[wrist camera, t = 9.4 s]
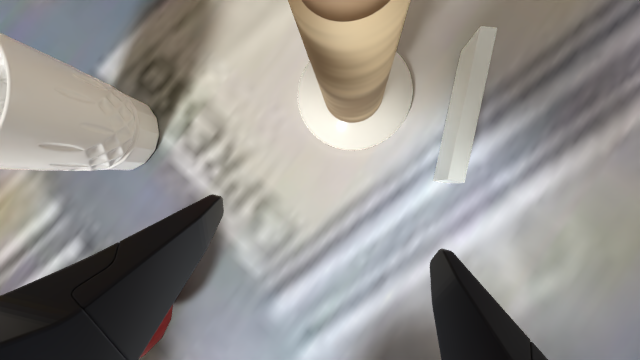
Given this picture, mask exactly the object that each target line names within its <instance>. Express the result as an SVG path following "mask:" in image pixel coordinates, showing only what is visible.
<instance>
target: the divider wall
mask: <svg viewBox="0 0 640 360" xmlns="http://www.w3.org/2000/svg"><path fill="white" fill-rule="evenodd" d="M496 33H497V27H487V26H480V27H479V29H478V30H477V31H476V33H475V34H474V35H473V37H472V38H471V39H470V40H469V42H468V43H467V44H466V46H465V47H464V48H463V50H462V51H461V52H460V57H459V62H458V66H457V71H456V76H455V80H454V85H453V90H452V94H451V99H450V104H449V108H448V113H447V118H446V122H445V127H444V132H443V136H442V141H441V146H440V150H439V155H438V160H437V164H436V169H435V173H434V178H433V181H436V182H441V183H446V184H451V183H464V182H465V177H466V173H467V168H468V163H469V159H470V154H471V149H472V145H473V140H474V135H475V131H476V126H477V121H478V117H479V112H480V107H481V103H482V98H483V93H484V89H485V84H486V79H487V75H488V70H489V65H490V61H491V56H492V51H493V47H494V42H495V37H496Z"/></svg>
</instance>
